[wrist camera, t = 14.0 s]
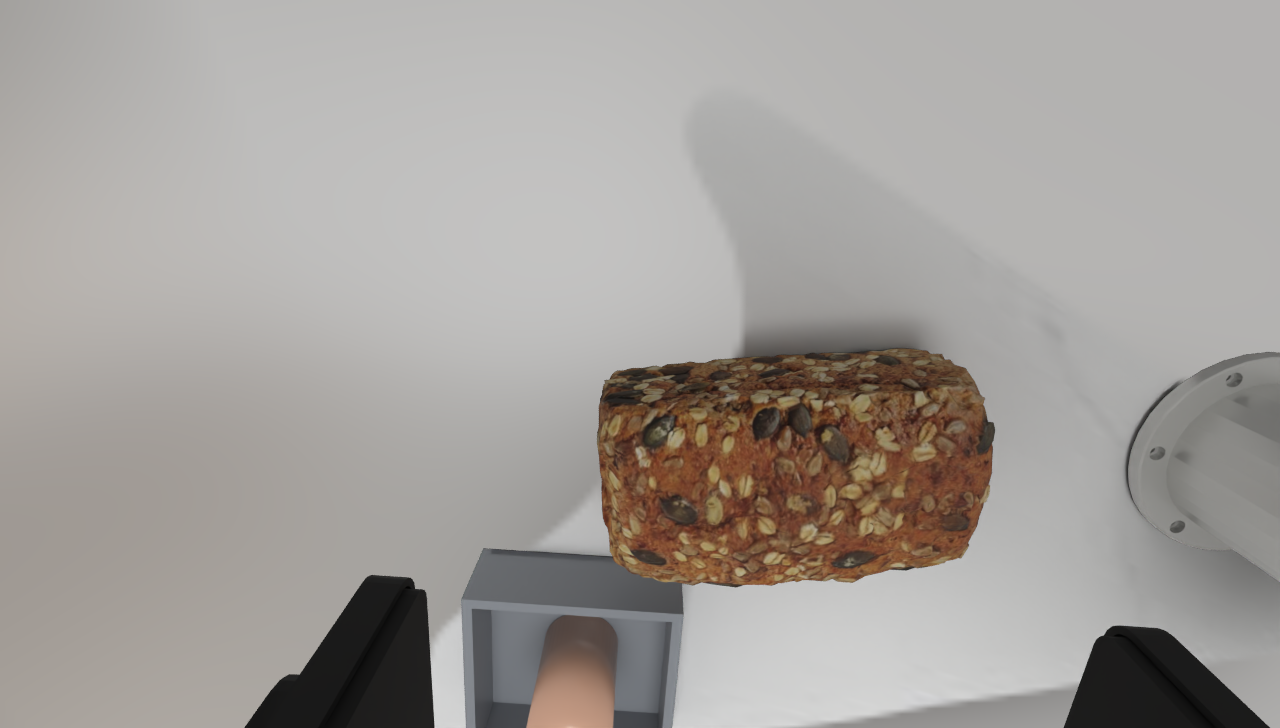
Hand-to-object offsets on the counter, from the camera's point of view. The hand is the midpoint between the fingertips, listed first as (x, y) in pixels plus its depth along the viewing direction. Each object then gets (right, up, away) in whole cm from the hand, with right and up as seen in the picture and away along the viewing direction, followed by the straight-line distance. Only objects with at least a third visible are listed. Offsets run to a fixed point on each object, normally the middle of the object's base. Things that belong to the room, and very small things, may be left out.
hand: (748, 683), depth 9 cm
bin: (-6, -14, +35) cm, 38 cm away
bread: (+6, +1, +30) cm, 31 cm away
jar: (-6, -14, +34) cm, 38 cm away
